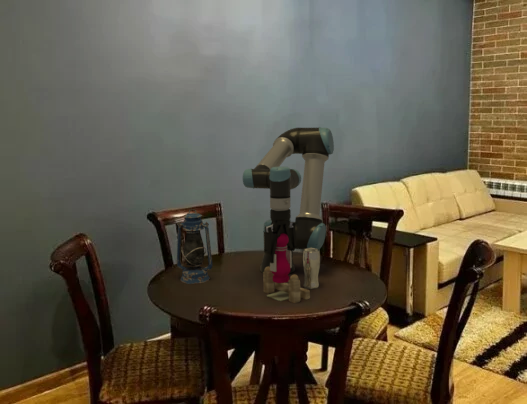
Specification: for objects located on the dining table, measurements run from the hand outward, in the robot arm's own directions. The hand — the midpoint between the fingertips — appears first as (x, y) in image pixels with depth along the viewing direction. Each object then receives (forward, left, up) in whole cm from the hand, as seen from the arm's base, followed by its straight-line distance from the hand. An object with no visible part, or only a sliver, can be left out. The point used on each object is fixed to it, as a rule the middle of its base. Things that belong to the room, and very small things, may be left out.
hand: (280, 269), depth 207 cm
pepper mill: (0, 0, -5) cm, 5 cm away
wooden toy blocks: (0, +1, -11) cm, 11 cm away
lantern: (-41, -12, -11) cm, 44 cm away
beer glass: (-1, +17, -11) cm, 20 cm away
